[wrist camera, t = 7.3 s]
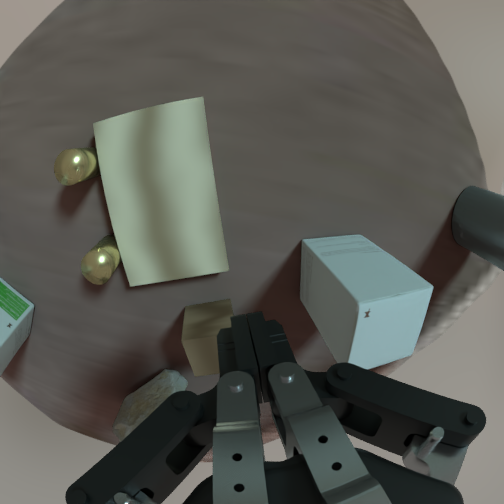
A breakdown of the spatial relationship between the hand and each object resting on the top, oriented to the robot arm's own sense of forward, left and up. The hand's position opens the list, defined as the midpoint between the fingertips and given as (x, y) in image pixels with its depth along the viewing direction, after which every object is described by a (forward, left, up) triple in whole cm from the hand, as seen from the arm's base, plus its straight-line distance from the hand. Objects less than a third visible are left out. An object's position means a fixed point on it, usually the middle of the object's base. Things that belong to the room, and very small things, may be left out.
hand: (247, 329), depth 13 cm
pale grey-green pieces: (+5, -5, -16) cm, 17 cm away
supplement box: (-11, +6, -16) cm, 20 cm away
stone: (+14, +20, -16) cm, 29 cm away
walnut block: (+3, +10, -15) cm, 19 cm away
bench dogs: (+12, -5, -15) cm, 20 cm away
